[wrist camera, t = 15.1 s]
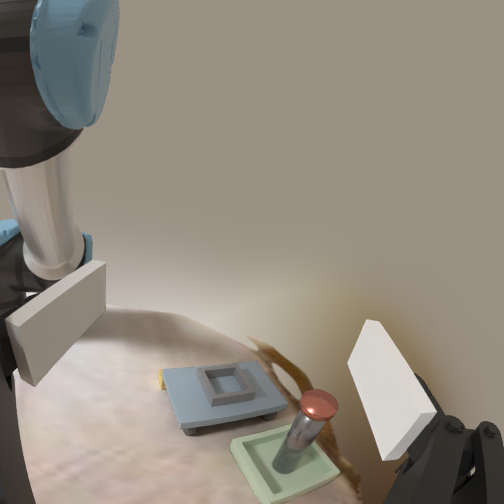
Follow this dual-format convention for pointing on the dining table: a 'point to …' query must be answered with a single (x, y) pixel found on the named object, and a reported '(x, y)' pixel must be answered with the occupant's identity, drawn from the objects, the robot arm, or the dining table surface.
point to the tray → (271, 482)
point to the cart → (220, 394)
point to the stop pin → (304, 429)
